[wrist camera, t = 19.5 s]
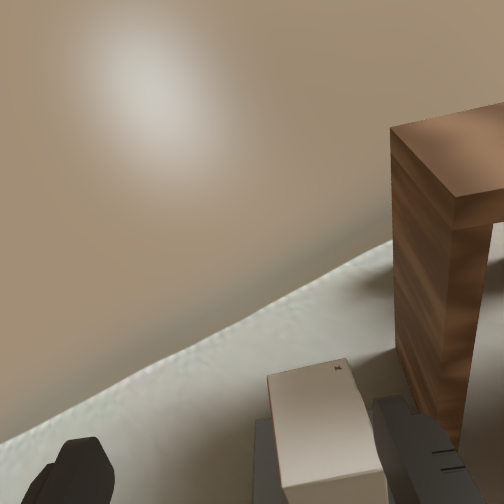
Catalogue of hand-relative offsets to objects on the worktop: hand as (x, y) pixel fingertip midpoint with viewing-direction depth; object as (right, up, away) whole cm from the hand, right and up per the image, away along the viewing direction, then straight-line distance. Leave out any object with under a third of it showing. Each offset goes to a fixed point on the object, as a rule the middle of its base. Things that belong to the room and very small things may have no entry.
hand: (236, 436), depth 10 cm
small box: (+8, -16, +21) cm, 27 cm away
